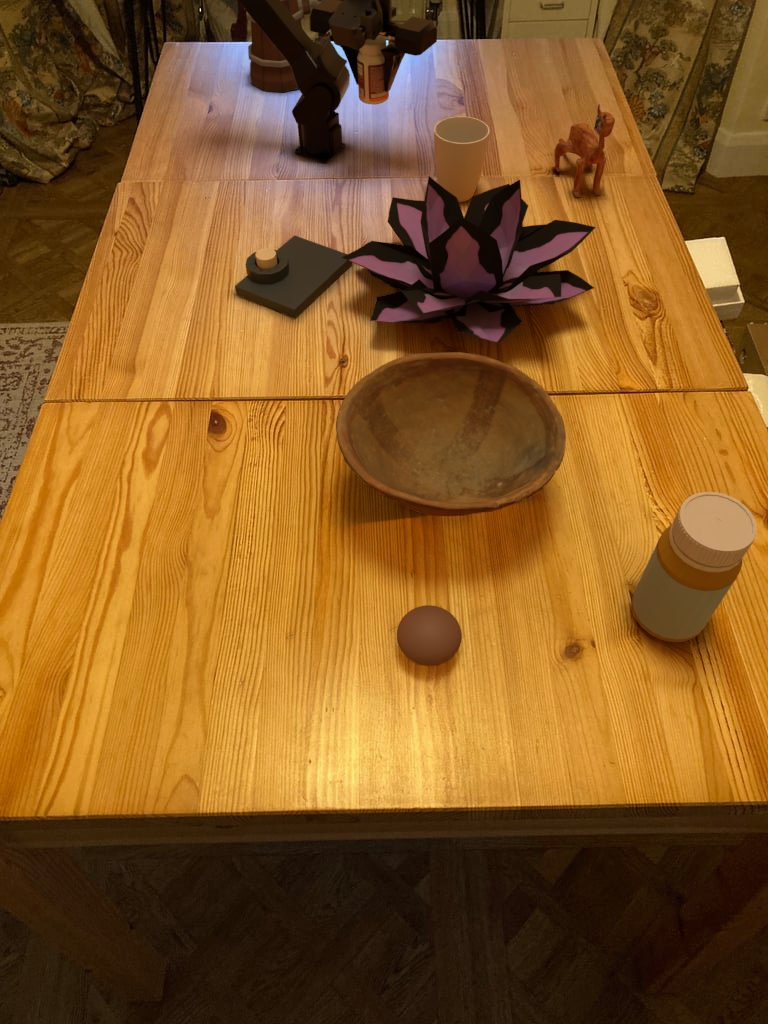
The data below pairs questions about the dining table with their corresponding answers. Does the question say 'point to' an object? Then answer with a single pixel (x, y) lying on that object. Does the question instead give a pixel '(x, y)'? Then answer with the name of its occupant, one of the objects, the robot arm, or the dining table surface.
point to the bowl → (451, 433)
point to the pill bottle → (372, 71)
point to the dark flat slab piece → (293, 276)
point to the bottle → (693, 566)
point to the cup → (460, 154)
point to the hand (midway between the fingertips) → (373, 87)
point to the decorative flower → (470, 261)
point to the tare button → (266, 258)
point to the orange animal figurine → (587, 148)
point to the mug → (277, 52)
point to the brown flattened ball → (429, 635)
